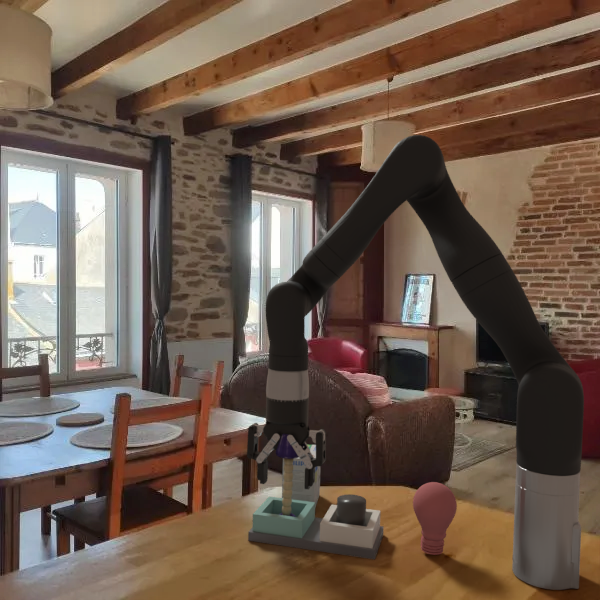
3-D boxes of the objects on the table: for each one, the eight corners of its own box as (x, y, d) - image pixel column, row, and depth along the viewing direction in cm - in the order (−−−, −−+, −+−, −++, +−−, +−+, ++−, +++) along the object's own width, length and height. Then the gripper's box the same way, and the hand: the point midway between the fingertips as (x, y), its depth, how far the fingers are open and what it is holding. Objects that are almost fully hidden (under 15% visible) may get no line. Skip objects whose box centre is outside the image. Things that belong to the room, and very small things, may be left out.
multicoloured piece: (383, 534, 108) (384, 493, 107) (374, 559, 98) (376, 514, 98) (266, 518, 114) (267, 479, 113) (248, 540, 104) (249, 497, 104)
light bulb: (456, 566, 96) (458, 492, 96) (410, 561, 98) (413, 488, 97) (453, 547, 103) (456, 478, 103) (411, 542, 105) (413, 474, 104)
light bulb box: (289, 492, 128) (290, 442, 127) (320, 494, 127) (321, 444, 127) (280, 511, 117) (281, 457, 117) (314, 514, 116) (316, 459, 116)
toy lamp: (305, 525, 107) (307, 432, 107) (287, 532, 104) (289, 437, 103) (286, 517, 111) (288, 427, 110) (267, 524, 107) (269, 431, 107)
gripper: (331, 393, 108) (329, 483, 109) (256, 387, 112) (254, 474, 113) (321, 401, 101) (319, 497, 102) (242, 395, 105) (240, 487, 105)
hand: (285, 485), depth 107 cm, fingers open, 8 cm apart
